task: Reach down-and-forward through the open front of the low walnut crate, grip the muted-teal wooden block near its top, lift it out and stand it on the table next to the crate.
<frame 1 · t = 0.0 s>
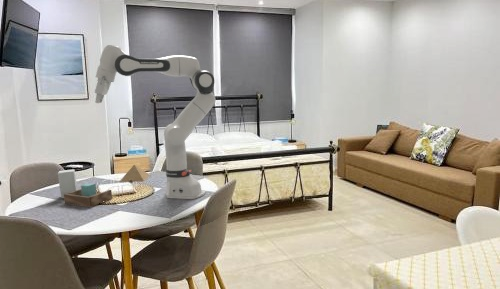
hand: (98, 102, 183), 52 cm above the table, tool tilted 20°, fingers open, 8 cm apart
model pyramid: (135, 179, 239), on the table
skincare box: (69, 196, 202), on the table
teal block: (89, 200, 193), resting in walnut crate
walnut crate: (88, 201, 192), on the table
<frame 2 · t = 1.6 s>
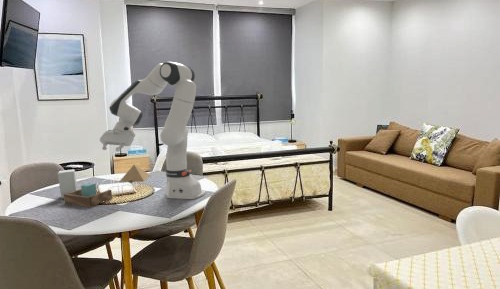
hand: (110, 150, 204), 25 cm above the table, tool tilted 45°, fingers open, 8 cm apart
nothing on the table moved.
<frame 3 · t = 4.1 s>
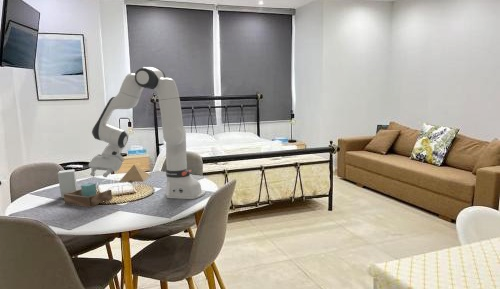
hand: (98, 176, 197), 12 cm above the table, tool tilted 45°, fingers open, 8 cm apart
nothing on the table moved.
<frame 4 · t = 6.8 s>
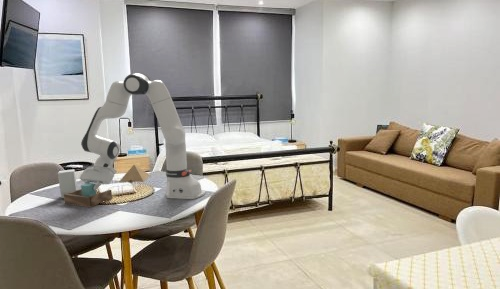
hand: (89, 189, 192), 6 cm above the table, tool tilted 45°, fingers closed on teal block, 5 cm apart
teal block: (89, 200, 193), resting in walnut crate, touching gripper
everything else where it was.
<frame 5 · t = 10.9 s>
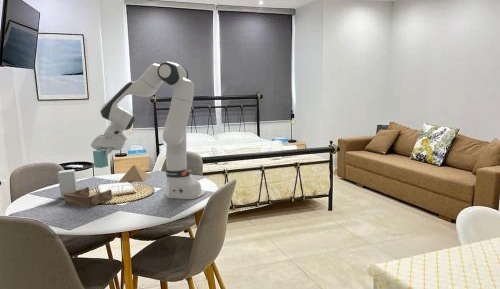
hand: (100, 155, 198), 23 cm above the table, tool tilted 45°, fingers closed on teal block, 5 cm apart
teal block: (101, 166, 198), point 17 cm above the table, touching gripper
everything else where it was.
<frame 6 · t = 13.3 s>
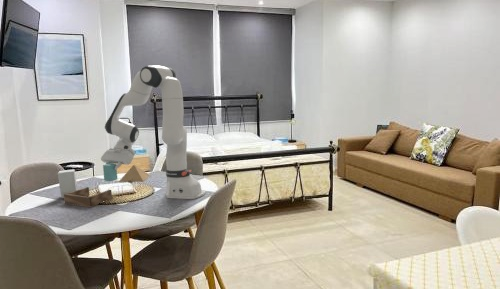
hand: (110, 168, 205), 14 cm above the table, tool tilted 45°, fingers closed on teal block, 5 cm apart
teal block: (110, 179, 206), point 8 cm above the table, touching gripper
everything else where it was.
when the fingers open (8 cm above the table, at t = 15.3 s): teal block drops 1 cm, on the table.
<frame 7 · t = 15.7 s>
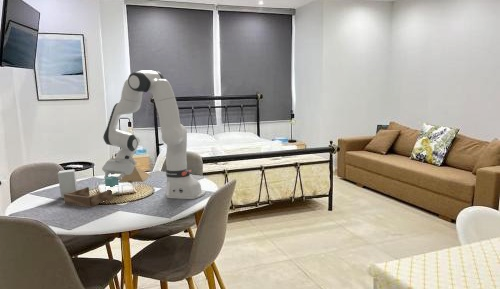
hand: (111, 179, 206), 8 cm above the table, tool tilted 45°, fingers open, 8 cm apart
teal block: (112, 192, 207), on the table
everything else where it was.
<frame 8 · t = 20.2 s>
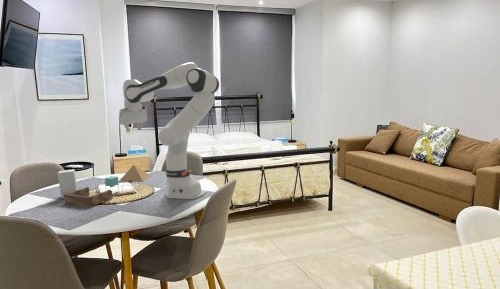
hand: (134, 131, 213), 34 cm above the table, tool pointing down, fingers open, 8 cm apart
nothing on the table moved.
at the end: teal block inside the target area (0.2 cm from its centre), on the table; teal block tilted 0°; the gripper is holding nothing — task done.
